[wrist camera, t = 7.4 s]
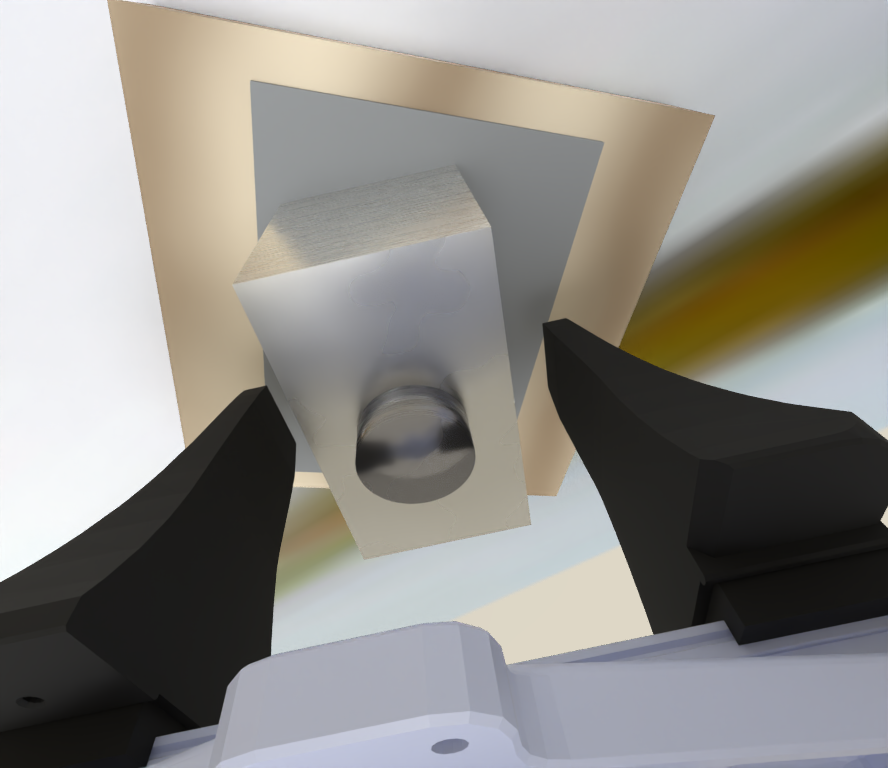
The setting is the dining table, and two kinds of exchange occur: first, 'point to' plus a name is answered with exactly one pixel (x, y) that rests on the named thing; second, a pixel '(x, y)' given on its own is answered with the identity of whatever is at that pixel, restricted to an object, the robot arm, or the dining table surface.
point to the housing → (394, 356)
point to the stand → (376, 159)
